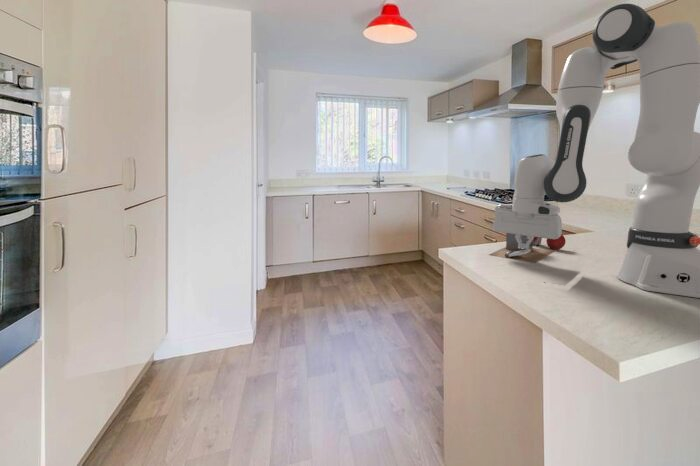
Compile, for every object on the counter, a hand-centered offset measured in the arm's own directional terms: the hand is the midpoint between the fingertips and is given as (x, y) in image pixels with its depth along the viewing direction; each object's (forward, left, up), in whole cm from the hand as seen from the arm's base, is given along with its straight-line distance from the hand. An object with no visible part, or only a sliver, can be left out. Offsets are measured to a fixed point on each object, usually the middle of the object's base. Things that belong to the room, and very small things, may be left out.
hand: (523, 248), depth 113 cm
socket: (+5, -10, -4) cm, 12 cm away
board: (+2, -6, -4) cm, 8 cm away
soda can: (+6, -26, -4) cm, 27 cm away
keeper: (+1, +1, -2) cm, 3 cm away
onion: (-4, -20, -4) cm, 21 cm away
